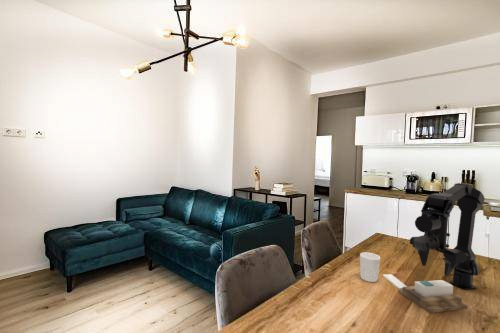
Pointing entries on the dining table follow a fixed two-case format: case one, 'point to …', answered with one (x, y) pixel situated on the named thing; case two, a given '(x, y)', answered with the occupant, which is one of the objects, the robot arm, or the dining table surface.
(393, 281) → the strip
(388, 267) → the dining table surface
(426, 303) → the cradle
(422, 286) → the white box
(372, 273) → the white cup
